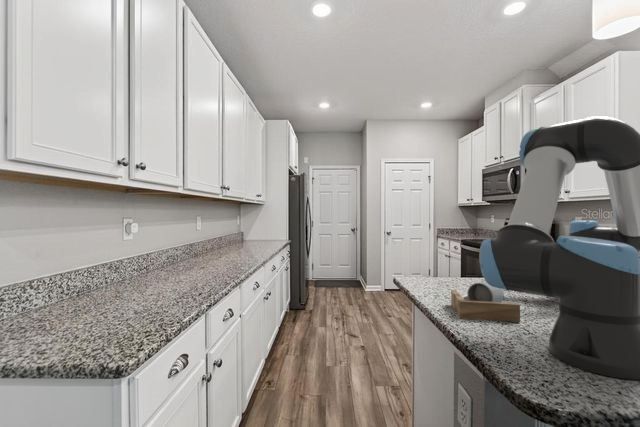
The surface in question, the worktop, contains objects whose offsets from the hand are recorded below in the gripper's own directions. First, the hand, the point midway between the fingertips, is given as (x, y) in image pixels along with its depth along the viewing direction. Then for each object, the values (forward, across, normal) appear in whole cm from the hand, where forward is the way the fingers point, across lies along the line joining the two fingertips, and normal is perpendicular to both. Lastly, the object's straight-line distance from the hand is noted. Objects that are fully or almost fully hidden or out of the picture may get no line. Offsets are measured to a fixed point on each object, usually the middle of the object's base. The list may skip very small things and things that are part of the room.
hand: (513, 270), depth 94 cm
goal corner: (+14, -1, -11) cm, 18 cm away
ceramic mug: (+11, +2, -11) cm, 16 cm away
